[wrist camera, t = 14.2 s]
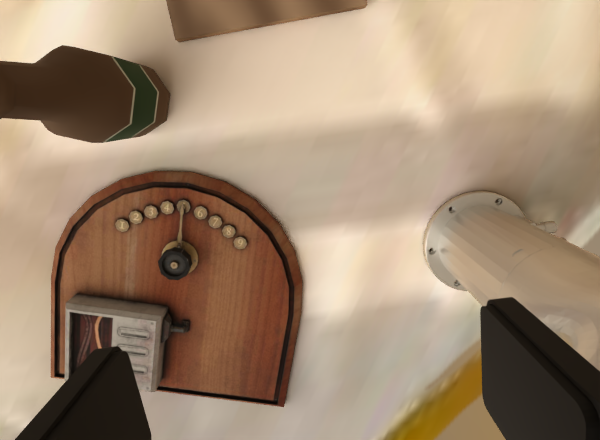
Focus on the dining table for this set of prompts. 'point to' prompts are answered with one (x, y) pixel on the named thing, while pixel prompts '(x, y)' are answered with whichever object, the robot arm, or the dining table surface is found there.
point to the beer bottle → (84, 95)
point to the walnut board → (246, 14)
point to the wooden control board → (179, 288)
